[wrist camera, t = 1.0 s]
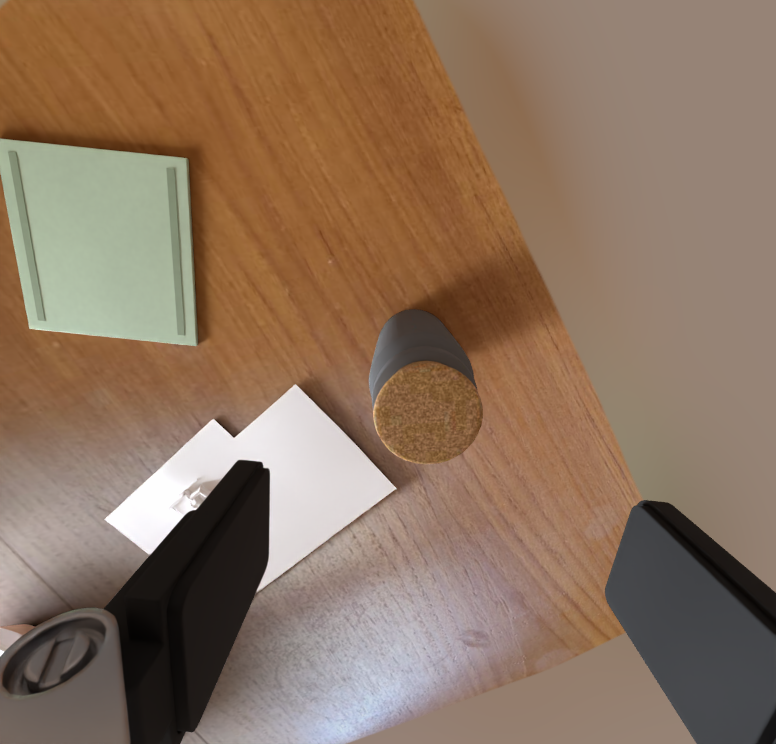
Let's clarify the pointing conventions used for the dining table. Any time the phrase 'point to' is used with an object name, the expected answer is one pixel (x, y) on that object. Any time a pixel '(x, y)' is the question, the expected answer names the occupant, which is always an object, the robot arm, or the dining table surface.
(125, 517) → the paper
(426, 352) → the bottle
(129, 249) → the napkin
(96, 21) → the dining table surface
